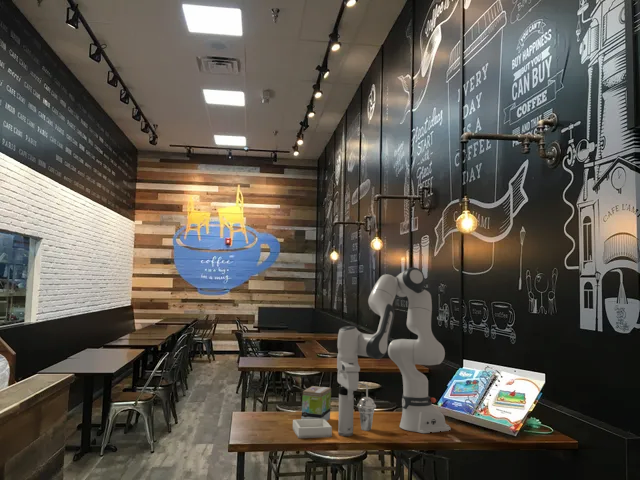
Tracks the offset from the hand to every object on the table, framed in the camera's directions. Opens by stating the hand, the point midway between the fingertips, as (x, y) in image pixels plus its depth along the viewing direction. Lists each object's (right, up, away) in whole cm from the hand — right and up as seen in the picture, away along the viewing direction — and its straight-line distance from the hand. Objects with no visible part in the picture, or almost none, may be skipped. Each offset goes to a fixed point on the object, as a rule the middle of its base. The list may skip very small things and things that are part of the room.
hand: (346, 397), depth 216 cm
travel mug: (0, -15, -2) cm, 15 cm away
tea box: (-13, -17, +19) cm, 29 cm away
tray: (-15, -15, -1) cm, 21 cm away
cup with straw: (+9, -16, +8) cm, 20 cm away
